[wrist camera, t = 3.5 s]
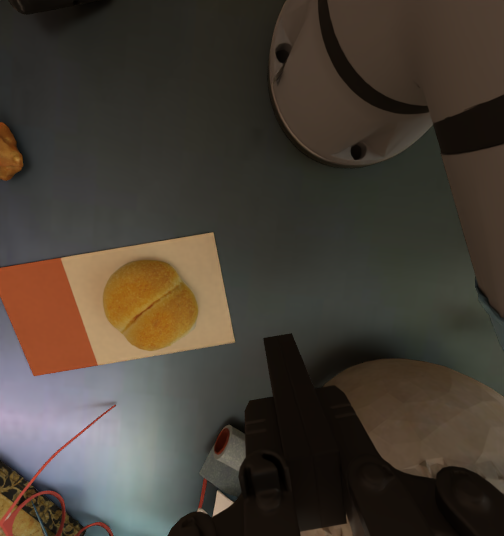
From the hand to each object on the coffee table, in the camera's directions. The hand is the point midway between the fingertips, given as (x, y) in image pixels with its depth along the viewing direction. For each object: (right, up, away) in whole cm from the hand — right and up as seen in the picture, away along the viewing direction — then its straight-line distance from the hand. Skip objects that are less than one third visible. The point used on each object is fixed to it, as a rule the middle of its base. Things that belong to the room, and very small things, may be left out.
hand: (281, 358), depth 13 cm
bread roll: (-11, +1, +13) cm, 17 cm away
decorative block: (-30, -25, +14) cm, 41 cm away
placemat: (-15, +1, +13) cm, 20 cm away
